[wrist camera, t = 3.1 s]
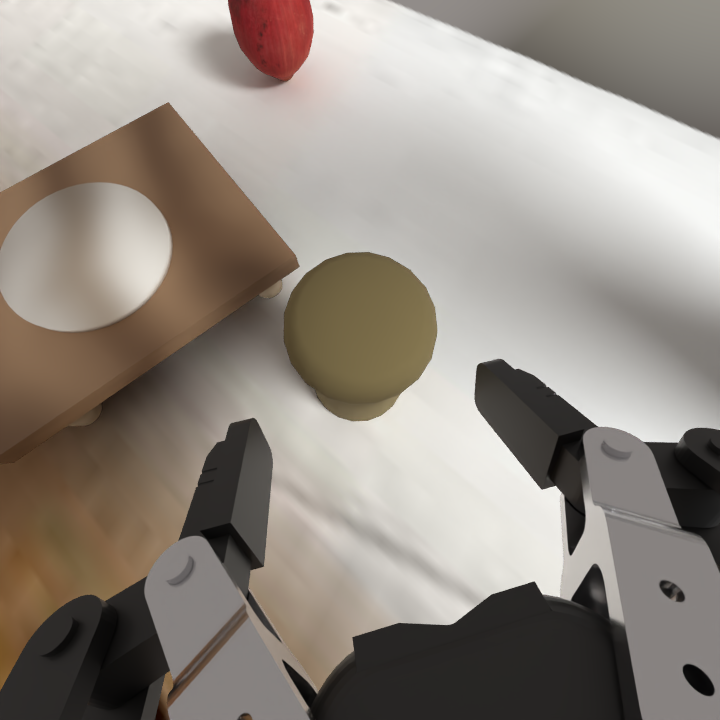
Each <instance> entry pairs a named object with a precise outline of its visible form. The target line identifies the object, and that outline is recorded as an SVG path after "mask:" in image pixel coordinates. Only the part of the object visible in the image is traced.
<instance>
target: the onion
mask: <svg viewBox="0 0 720 720" xmlns="http://www.w3.org/2000/svg"><path fill="white" fill-rule="evenodd" d="M228 6H229V10H230V15H231V20H232V25H233V30H234V34H235V36H236V39H237V41H238V44H239V46H240V48H241V50H242V51H243V52H244V54H245V55H246V56H247V58H248V59H249V60H250V61H251V62H252V64H253V65H254V66H255V67H256V68H257V69H259V70H260V71H262V72H263V73H265V74H267V75H270V76H272V77H275V78H277V79H280V80H283V81H288V80H290V79H291V78H292V76H293V74H294V73H295V72H296V71H298V69H299V68H300V67H301V65H302V64H303V63H304V61H305V60H306V58H307V57H308V55H309V51H310V47H311V44H312V38H313V33H314V31H313V14H312V9H311V5H310V1H309V0H228Z"/></svg>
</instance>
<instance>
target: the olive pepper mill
mask: <svg viewBox="0 0 720 720" xmlns="http://www.w3.org/2000/svg"><path fill="white" fill-rule="evenodd" d="M436 337H437V323H436V313H435V307H434V305H433V302H432V300H431V298H430V296H429V294H428V291H427V289H426V287H425V286H424V285H423V284H422V283H421V282H420V280H419V279H418V278H417V277H416V276H415V275H414V274H413V273H412V272H411V270H409V269H408V268H406V267H404V266H403V265H401V264H399V263H398V262H396V261H394V260H393V259H391V258H389V257H385V256H381V255H377V254H374V253H370V252H359V253H345V254H342V255H339V256H336V257H333V258H330V259H327V260H325V261H323V262H322V263H320V264H319V265H318V266H316V267H315V268H313V269H312V270H310V271H309V272H307V273H306V274H305V275H304V277H303V278H302V279H301V280H300V282H299V283H298V284H297V286H296V287H295V288H294V289H293V291H292V293H291V295H290V298H289V301H288V304H287V306H286V309H285V312H284V343H285V346H286V349H287V352H288V355H289V358H290V361H291V364H292V365H293V367H294V368H295V369H296V371H297V372H298V373H299V375H300V376H301V377H302V379H303V380H304V381H305V383H307V384H308V385H309V386H311V387H312V388H314V389H315V391H316V394H317V397H318V398H319V400H320V401H321V402H322V404H323V405H324V406H325V408H326V409H327V410H329V411H330V412H332V413H333V414H335V415H336V416H338V417H340V418H343V419H347V420H350V421H368V420H370V419H373V418H376V417H378V416H381V415H382V414H384V413H385V412H386V411H387V410H389V409H390V408H391V407H392V406H393V405H394V403H395V402H396V400H397V398H398V397H399V395H400V393H402V392H403V391H404V390H405V389H407V388H408V387H409V386H410V385H412V384H413V383H414V382H415V381H416V380H418V379H419V378H420V376H421V374H422V373H423V371H424V370H425V368H426V366H427V365H428V363H429V362H430V360H431V358H432V354H433V350H434V345H435V341H436Z"/></svg>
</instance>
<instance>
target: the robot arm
mask: <svg viewBox="0 0 720 720" xmlns="http://www.w3.org/2000/svg"><path fill="white" fill-rule="evenodd" d="M475 403H476V406H477V408H478V410H479V412H480V413H481V415H482V416H483V417H484V418H485V420H486V421H487V422H488V423H489V425H490V426H491V427H492V428H493V430H494V431H495V432H496V433H497V435H498V436H499V437H500V438H501V440H502V441H503V442H504V443H505V445H506V446H507V447H508V448H509V450H510V451H511V452H512V453H513V455H514V456H515V457H516V458H517V460H518V461H519V462H520V463H521V465H522V466H523V467H524V468H525V470H526V471H527V472H528V473H529V474H530V476H531V477H532V478H533V479H534V481H535V482H536V483H537V484H538V486H539V487H540V488H541V489H546V488H549V487H553V486H557V488H558V489H559V490H560V491H561V492H562V493H561V496H560V508H561V524H562V541H563V558H564V561H563V571H562V577H561V588H560V597H554V596H549V595H542V593H541V592H540V590H539V588H538V587H537V585H536V583H535V582H531V583H528V584H525V585H521V586H518V587H515V588H512V589H508V590H505V591H502V592H499V593H495V594H492V595H490V596H489V597H488V598H486V599H485V600H484V601H483V602H481V603H480V604H479V605H477V606H476V607H475V608H474V609H472V610H471V611H470V612H468V613H467V614H466V615H465V616H463V617H462V618H461V619H459V620H458V621H457V622H455V623H454V624H451V625H430V624H408V623H397V624H394V625H391V626H388V627H384V628H381V629H378V630H375V631H371V632H368V633H365V634H362V635H358V636H355V637H353V645H354V651H353V652H352V653H351V654H349V655H348V656H347V657H346V658H345V659H344V660H343V661H342V662H341V663H340V664H339V665H338V666H336V668H335V669H334V670H333V672H332V673H331V674H330V675H329V677H328V678H327V679H326V681H325V682H324V684H323V685H322V687H321V689H320V690H319V691H318V690H317V688H316V687H315V685H314V684H313V682H312V681H311V679H310V677H309V676H308V674H307V673H306V671H305V670H304V669H303V667H302V666H301V664H300V663H299V662H298V660H297V659H296V657H295V656H294V655H293V654H292V652H291V651H290V650H289V648H288V647H287V645H286V644H285V642H284V641H283V639H282V638H281V636H280V635H279V633H278V632H277V630H276V628H275V627H274V625H273V624H272V622H271V621H270V619H269V618H268V616H267V614H266V613H265V611H264V610H263V608H262V607H261V605H260V604H259V602H258V601H257V599H256V597H255V596H254V594H253V593H252V591H251V590H250V588H249V587H248V586H249V578H250V570H253V569H257V568H261V567H264V559H265V547H266V536H267V525H268V513H269V502H270V491H271V479H272V468H273V459H272V453H271V449H270V447H269V445H268V443H267V441H266V439H265V436H264V434H263V432H262V430H261V428H260V426H259V424H258V422H257V420H256V419H255V418H251V419H247V420H243V421H239V422H234V423H231V424H230V426H229V428H228V432H227V435H226V439H225V441H221V442H217V444H216V445H215V446H214V448H213V449H212V450H211V452H210V453H209V454H208V456H207V457H206V460H205V463H204V466H203V469H202V474H201V475H200V478H199V481H198V487H196V490H195V493H194V496H193V499H192V502H191V505H190V508H189V511H188V514H187V517H186V520H185V523H184V526H183V529H182V532H181V535H180V538H179V540H178V542H176V543H174V544H173V545H172V546H170V547H169V548H168V549H167V550H166V551H165V552H164V553H163V554H162V555H161V556H160V557H159V558H158V559H157V561H156V562H155V563H154V565H153V567H152V568H151V570H150V572H149V574H148V576H147V577H145V578H143V579H142V580H140V581H139V582H137V583H135V584H133V585H132V586H130V587H128V588H127V589H125V590H123V591H122V592H120V593H118V594H116V595H115V596H113V597H111V598H110V599H108V600H106V601H103V600H101V599H100V598H98V597H96V596H94V595H84V596H80V597H78V598H76V599H73V600H72V601H70V602H68V603H66V604H65V605H64V606H62V607H61V608H59V609H58V610H57V611H56V612H54V613H53V614H52V615H51V616H50V617H49V618H48V619H47V620H46V621H45V622H44V623H43V624H42V625H41V626H40V627H39V628H38V629H37V631H36V632H35V633H34V634H33V636H32V637H31V638H30V640H29V641H28V643H27V644H26V646H25V648H24V649H23V651H22V653H21V654H20V656H19V658H18V660H17V662H16V664H15V665H14V667H13V669H12V671H11V673H10V674H9V676H8V678H7V680H6V682H5V684H4V685H3V687H2V689H1V691H0V720H155V716H156V712H157V707H158V703H159V699H160V694H161V690H162V686H163V681H164V677H165V674H166V673H167V672H169V671H170V672H171V675H172V678H173V689H172V690H171V691H170V693H169V694H168V698H167V706H168V713H169V717H170V720H720V430H716V429H710V428H694V429H690V430H688V431H686V433H685V434H684V435H683V437H682V438H681V440H680V441H679V443H664V442H642V441H641V440H640V439H638V438H637V437H635V436H633V435H631V434H629V433H627V432H625V431H622V430H619V429H615V428H609V427H598V426H596V425H595V424H594V423H593V422H591V421H590V420H589V419H588V418H586V417H585V416H584V415H583V414H581V413H580V412H579V411H578V410H576V409H575V408H574V407H573V406H571V405H570V404H569V403H568V402H566V401H565V400H564V399H563V398H561V397H560V396H559V395H556V393H555V392H554V391H553V390H551V389H550V388H549V387H546V385H545V384H544V383H543V382H541V381H540V380H539V379H538V378H537V377H535V376H534V375H532V374H529V373H527V372H525V371H522V370H520V369H516V370H515V369H513V368H512V367H511V366H510V365H509V364H507V363H506V362H505V361H504V360H502V359H496V360H492V361H488V362H484V363H480V364H478V366H477V371H476V383H475Z"/></svg>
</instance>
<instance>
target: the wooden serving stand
mask: <svg viewBox="0 0 720 720" xmlns="http://www.w3.org/2000/svg"><path fill="white" fill-rule="evenodd" d="M298 267H300V266H299V264H298V261H297V258H296V255H295V254H294V253H293V252H292V250H291V249H290V248H289V247H288V246H287V244H286V243H285V242H284V241H283V240H282V238H281V237H280V236H279V235H278V234H277V232H276V231H275V230H274V229H273V228H272V226H271V225H270V224H269V223H268V222H267V220H266V219H265V218H264V217H263V216H262V214H261V213H260V212H259V211H258V210H257V208H256V207H255V206H254V205H253V203H252V202H251V201H250V200H249V199H248V197H247V196H246V195H245V194H244V193H243V191H242V190H241V189H240V188H239V187H238V185H237V184H236V183H235V182H234V181H233V179H232V178H231V177H230V176H229V175H228V173H227V172H226V171H225V170H224V169H223V167H222V166H221V165H220V164H219V163H218V161H217V160H216V159H215V158H214V157H213V155H212V154H211V153H210V152H209V151H208V149H207V148H206V147H205V146H204V145H203V143H202V142H201V141H200V140H199V139H198V137H197V136H196V135H195V134H194V133H193V131H192V130H191V129H190V128H189V127H188V125H187V124H186V123H185V122H184V120H183V119H182V118H181V117H180V116H179V114H178V113H177V112H176V111H175V110H174V108H173V107H172V106H171V105H170V104H169V102H168V103H166V104H164V105H162V106H160V107H158V108H156V109H155V110H153V111H151V112H149V113H147V114H145V115H143V116H142V117H140V118H138V119H136V120H134V121H132V122H130V123H129V124H127V125H125V126H123V127H121V128H119V129H117V130H116V131H114V132H112V133H110V134H108V135H106V136H104V137H103V138H101V139H99V140H97V141H95V142H93V143H91V144H90V145H88V146H86V147H84V148H82V149H80V150H78V151H76V152H75V153H73V154H71V155H69V156H67V157H65V158H63V159H62V160H60V161H58V162H56V163H54V164H52V165H50V166H49V167H47V168H45V169H43V170H41V171H39V172H37V173H36V174H34V175H32V176H30V177H28V178H26V179H24V180H23V181H21V182H19V183H17V184H15V185H13V186H11V187H10V188H8V189H6V190H4V191H2V192H0V464H5V463H14V462H15V461H17V460H18V459H20V458H21V457H23V456H24V455H26V454H27V453H29V452H30V451H32V450H33V449H34V448H36V447H37V446H39V445H40V444H42V443H43V442H45V441H46V440H48V439H49V438H50V437H52V436H53V435H55V434H56V433H58V432H59V431H61V430H62V429H64V428H65V427H67V426H86V425H89V424H91V423H93V422H94V421H95V420H96V419H97V418H98V417H99V415H100V413H101V410H102V404H101V403H102V402H103V401H104V400H106V399H107V398H109V397H110V396H112V395H113V394H115V393H116V392H118V391H119V390H120V389H122V388H123V387H125V386H126V385H128V384H129V383H131V382H132V381H134V380H135V379H137V378H138V377H139V376H141V375H142V374H144V373H145V372H147V371H148V370H150V369H151V368H153V367H154V366H155V365H157V364H158V363H160V362H161V361H163V360H164V359H166V358H167V357H169V356H170V355H172V354H173V353H174V352H176V351H177V350H179V349H180V348H182V347H183V346H185V345H186V344H188V343H189V342H191V341H192V340H193V339H195V338H196V337H198V336H199V335H201V334H202V333H204V332H205V331H207V330H208V329H209V328H211V327H212V326H214V325H215V324H217V323H218V322H220V321H221V320H223V319H224V318H226V317H227V316H228V315H230V314H231V313H233V312H234V311H236V310H237V309H239V308H240V307H242V306H243V305H244V304H246V303H247V302H249V301H250V300H252V299H253V298H255V297H256V296H258V295H259V296H260V297H263V298H272V297H274V296H276V295H277V294H279V292H280V291H281V289H282V280H281V279H282V278H284V277H285V276H287V275H288V274H290V273H291V272H293V271H294V270H296V269H297V268H298Z"/></svg>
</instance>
